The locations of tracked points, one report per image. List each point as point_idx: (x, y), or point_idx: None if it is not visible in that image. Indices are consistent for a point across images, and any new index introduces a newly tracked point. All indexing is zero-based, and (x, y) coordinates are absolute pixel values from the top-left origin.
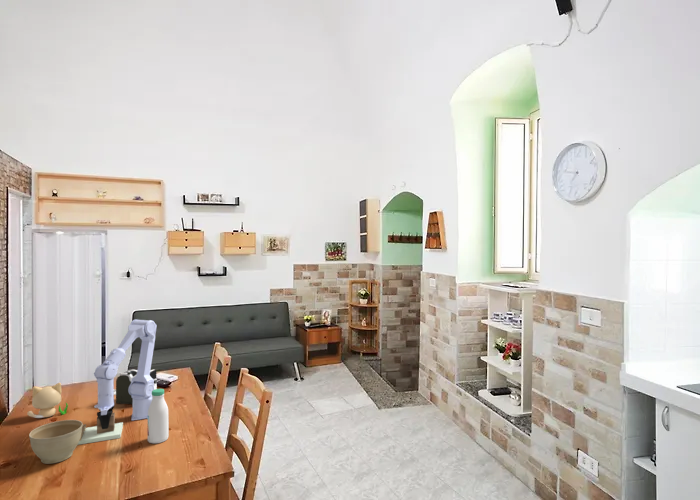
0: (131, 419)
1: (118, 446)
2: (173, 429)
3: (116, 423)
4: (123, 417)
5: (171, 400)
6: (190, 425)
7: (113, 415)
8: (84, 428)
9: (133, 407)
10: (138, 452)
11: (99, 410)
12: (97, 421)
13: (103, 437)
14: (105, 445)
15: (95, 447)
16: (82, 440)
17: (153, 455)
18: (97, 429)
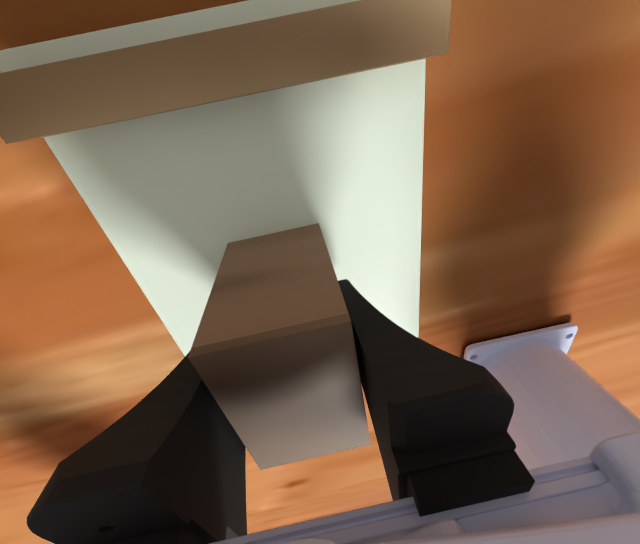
0: (473, 349)
1: (86, 393)
2: (284, 492)
3: (413, 312)
4: (561, 285)
5: (636, 413)
6: (310, 513)
7: (272, 465)
8: (321, 79)
9: (553, 411)
10: (34, 473)
11: (379, 392)
12: (202, 325)
13: (159, 309)
14: (88, 330)
15: (38, 282)
16: (57, 155)
17: (22, 512)
18: (221, 267)
